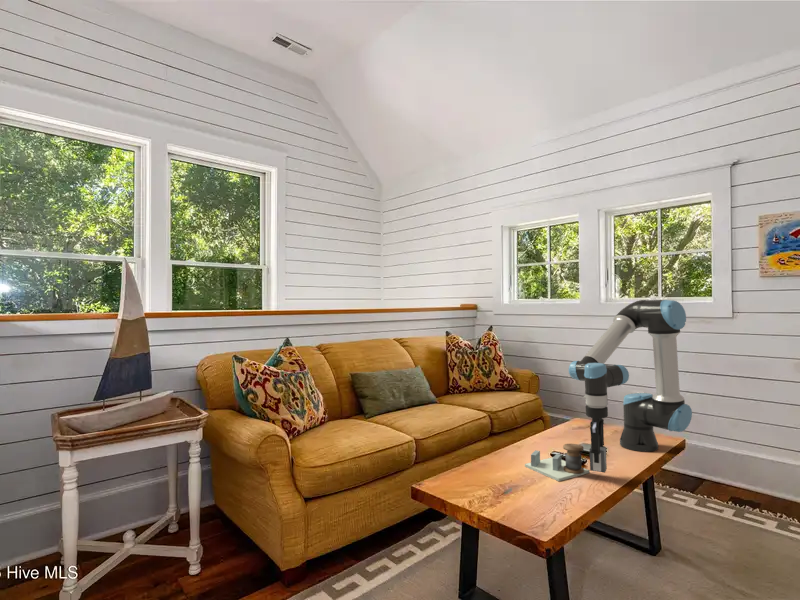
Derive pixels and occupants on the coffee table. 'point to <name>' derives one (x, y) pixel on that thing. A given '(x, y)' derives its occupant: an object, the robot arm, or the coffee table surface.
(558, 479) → the board
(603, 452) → the gray rectangular block
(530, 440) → the coffee table surface
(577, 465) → the bobbin
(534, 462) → the notch
